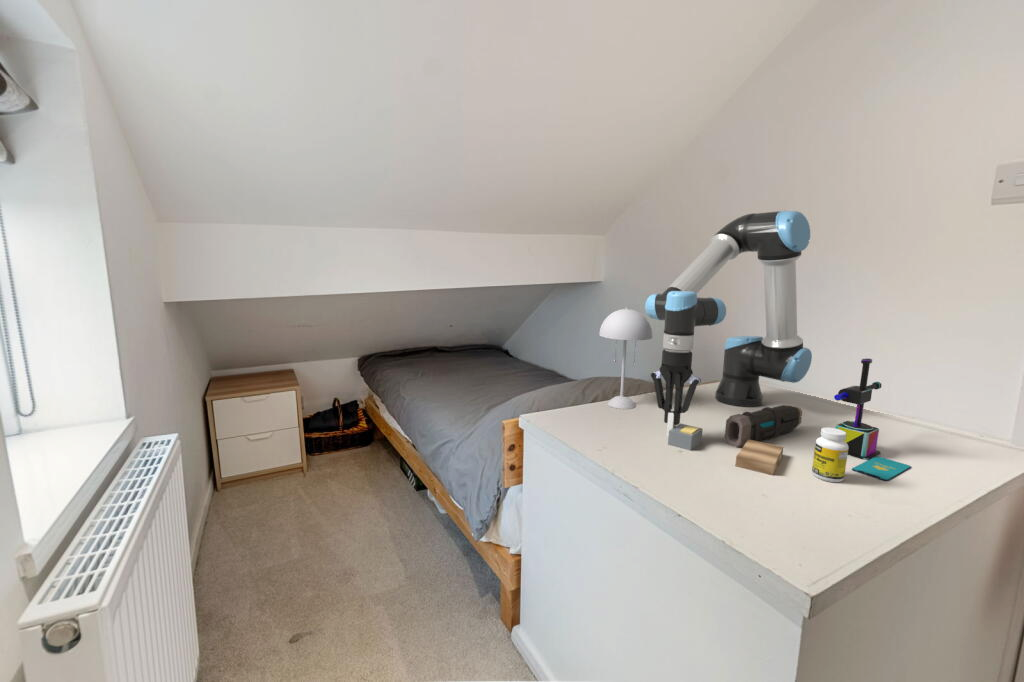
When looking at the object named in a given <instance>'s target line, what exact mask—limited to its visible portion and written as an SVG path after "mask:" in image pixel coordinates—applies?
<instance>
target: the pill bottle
mask: <svg viewBox="0 0 1024 682" xmlns="http://www.w3.org/2000/svg"><path fill="white" fill-rule="evenodd" d="M820 430H821V431H820V435H821V436H820V437H818V438H816V440H815V444H814V445H815V446H814V453H813V459H812V465H811V473H812V475H813V476H814V477H815V478H817V479H820V480H822V481H824V482H828V483H830V482H831V483H840V482H842V481H844V479H845V476H846V475H845V473H846V467H847V459H848V456H849V455H848V444H847V443H846V442H845V441H844V440H845V439H846V432H844V431H842V430H839V429H836V427H835V428H834V427H822V428H821V429H820Z"/></svg>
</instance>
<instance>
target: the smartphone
mask: <svg viewBox="0 0 1024 682" xmlns="http://www.w3.org/2000/svg"><path fill="white" fill-rule="evenodd" d="M910 469H912V466H910V464H906V463H904V462H900V461H896V460H894V459H888V458H886V457H882V456H879V455H877V456H875V457H873V458H871V459H869V460H865V461H864V462H861V463H860V464H858V465H856V466H854V467H852V468H851V470H852V472H855V473H858V474H861V475H865V476H868V477H871V478H874V479H877V480H879V481H883V482H889V481H891V480H893V479H895V478H896V477H898V476H900V475H901V474H903V473H904V472H906V471H908V470H910Z"/></svg>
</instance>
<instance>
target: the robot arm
mask: <svg viewBox="0 0 1024 682" xmlns="http://www.w3.org/2000/svg"><path fill="white" fill-rule="evenodd" d="M810 239H811V227H810V224H809V220H808V219H807V217H806V216H805V215H804V214H803V213H802V212H800V211H797V210H779V211H778V210H777V211H766V212H758V213H748V214H744V215H742V216H739V217H738V218H735V219H733V220H732V221H730V222H729V223H727V224H726V225H725V226H723V227H722V228H720V229H719V230H718V231H717V232H716V233H715V234H714V235H713V236H712V237H711V239H710V242H709V245H708V246H707V247H706V248H705V249H704V250H703V251H702V252H701V253H699V255H698V256H697V257H695V259H694V260H693V261H692V262H691V263H690V264H689V265H688V266H687V268H685V269H684V270H683V271H682V273H680V275H679V276H678V277H677V278H676V279H674V281H673V282H672V283H671V284H670V285H669V286H668V287H667V288H666V289H665V290H664V291H663V292H662V293H653V294H651V295H650V296H648V297H647V299H646V300H645V305H644V308H645V309H644V310H645V312H646V315H647V316H648V317H649V318H650V319H655V320H657V321H664V330H663V337H662V338H663V340H662V341H663V342H662V347H663V350H662V353H661V354H662V355H661V366H660V367H659V370H656V371H653V372H652V373H650V377H651V379H652V381H653V384H654V390H655V396H656V403H657V407H658V408H659V409H661V410H663V411H664V417H663V418H664V419H663V422H664V423H665V424H667V426H666V437H669V430H671V429H672V428H674V427H676V426H677V425H679V424H680V423H681V414H684V413H686V412H687V411H689V408H690V405H691V403H692V400H693V397H694V394H695V392H696V389H697V386H698V385H700V383H701V382H702V379H701V378H700V377H696V376H695V375H694V374H693V369H692V362H693V352H692V350H693V349H694V338H695V337H694V336H695V327H704V326H709V327H711V326H714V325H718V324H720V323H722V322H723V321H724V320H725V317H726V316H727V307H726V305H725V303H724V301H722V299H719V298H717V297H712V296H711V297H698V293H699V292H700V291H701V290H702V289H703V288H704V287H705V286H706V285H707V284H708V283H709V282H710V281H711V280H712V278H713V277H714V276H715V275H716V274H717V273H718V272H720V271H721V269H722V268H723V267H724V266H725V265H726V264H727V263H728V261H730V260H734V259H736V258H737V257H738V256H739V255H740V254H743V253H746V252H747V253H748V252H750V253H751V252H754V253H755V252H757V260H758V261H759V262H760V263H762V264H763V283H764V288H763V289H764V305H765V307H764V308H765V333H766V336H765V337H763V336H759V335H746V336H745V335H744V336H743V335H741V336H731V337H728V338H727V339H726V341H725V345H724V349H723V351H724V352H723V353H724V354H723V366H722V378H721V380H720V382H719V384H718V385H717V389H716V390H715V394H714V395H715V397H714V398H715V400H716V401H718V402H721V403H723V404H726V405H733V406H738V407H747V408H748V407H752V408H753V407H760V406H761V405H762V404H763V400H764V399H763V393H762V390H761V386H760V377H763V378H767V379H770V380H771V379H772V380H775V381H781V382H788V383H793V384H795V383H798V382H801V381H802V380H803V379H804V378H805V376H806V375H807V373H808V372H809V370H810V367H811V364H812V359H813V356H812V355H813V354H812V351H811V349H810V348H807V347H804V339H803V338H802V337H800V336H799V335H798V309H797V303H798V302H797V301H798V300H797V269H796V268H797V265H796V264H797V260H798V259H800V257H802V251H804V250H806V248H807V247H808V246H809V244H810ZM662 378H663V380H664V381H665V394H664V389H663V388H664V387H663V381H662ZM687 381H689V384H690V385H689V386H688V389H687V392H686V394H685V397H684V400H683V396H684V395H683V393H684V387H685V384H686V383H687ZM674 390H675V391H674ZM673 396H674V406H673Z"/></svg>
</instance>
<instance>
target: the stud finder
mask: <svg viewBox="0 0 1024 682" xmlns="http://www.w3.org/2000/svg"><path fill="white" fill-rule="evenodd" d="M667 437H668V441H667V445H668V446H671V447H675V448H677V449H678V448H680V449H683V450H687V451H692V450H693V449H695V448H696V447H697V446H699V445H700V444H701V443H702V442H703V440H702V438H703V428H702V427H698V426H695V425H694V426H693V425H690V424H686V423H685V424H684V423H681V422H680V423H679V424H678V425H676V427H674V428H672V429H671V430H669V436H667Z"/></svg>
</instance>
